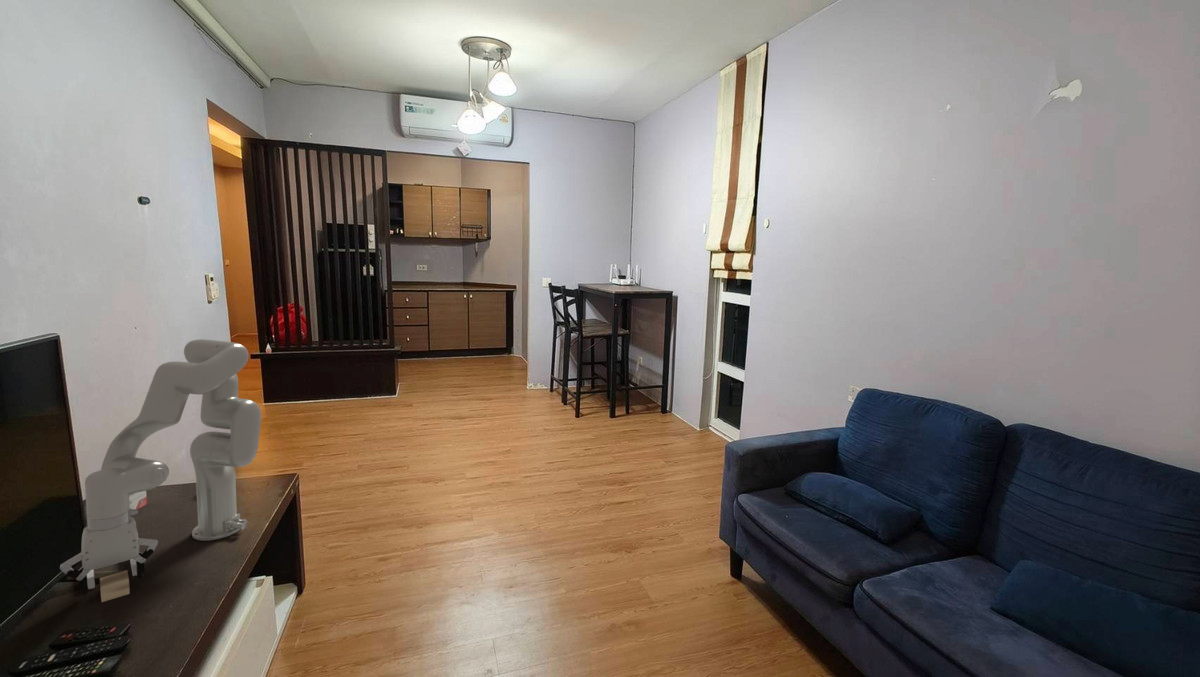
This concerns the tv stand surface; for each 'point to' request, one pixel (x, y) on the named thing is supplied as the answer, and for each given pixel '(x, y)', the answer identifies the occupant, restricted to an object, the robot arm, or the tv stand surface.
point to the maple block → (114, 586)
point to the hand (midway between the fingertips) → (113, 583)
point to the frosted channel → (91, 574)
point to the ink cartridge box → (138, 500)
